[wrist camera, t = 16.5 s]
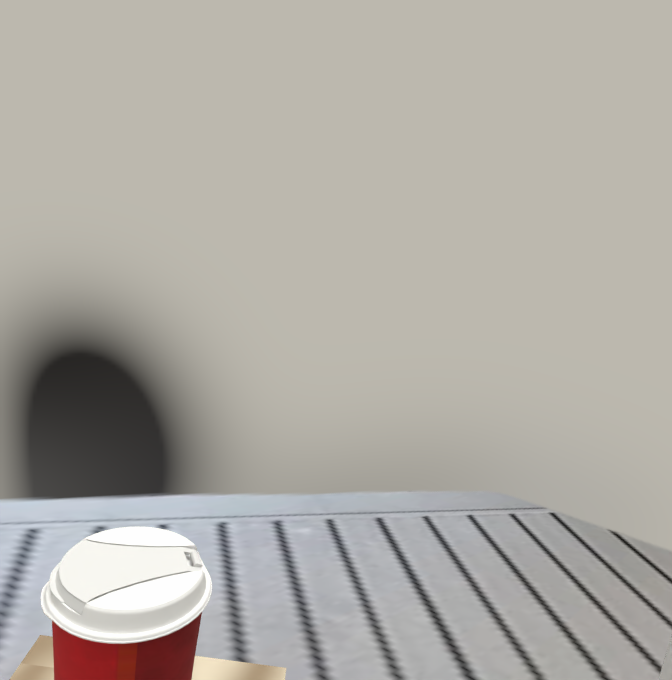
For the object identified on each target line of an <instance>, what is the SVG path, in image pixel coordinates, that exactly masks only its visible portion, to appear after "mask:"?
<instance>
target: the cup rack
mask: <svg viewBox="0 0 672 680" xmlns="http://www.w3.org/2000/svg"><path fill="white" fill-rule="evenodd" d="M285 673H286V668H282V667H275V666H267V665H260V664H252V663H245V662H237V661H230V660H222V659H215V658H207V657H200V656H195V658H194V665H193V672H192V679H191V680H285ZM10 680H54V659H53V637H50V636H43V635H40V636H39V638H38V639H37V641H36V642H35V644H34V645H33V646H32V648H31V649H30V651H29V652H28V654H27V655H26V657H25V658H24V659H23V661H22V662H21V664H20V665H19V667H18V668H17V670H16V671H15V672H14V674H13V675H12V677H11V678H10Z"/></svg>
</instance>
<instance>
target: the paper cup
mask: <svg viewBox="0 0 672 680" xmlns="http://www.w3.org/2000/svg"><path fill="white" fill-rule="evenodd" d="M211 592H212V582H211V577H210V575H209V573H208V571H207V569H206V567H205V566H204V564H203V562H202V560H201V558H200V555H199V552H197V548H196V546H195V545H194V544H193V543H192V542H191V541H190V540H188V539H186V538H185V537H183V536H181V535H179V534H177V533H174V532H171V531H168V530H163V529H159V528H152V527H123V528H116V529H111V530H106V531H103V532H99V533H96V534H94V535H91V536H89V537H87V538H85V539H83V540H82V541H80V542H79V543H78V544H76V545H75V546H74V547H73V548H71V549H70V550H69V551H68V552H67V553H66V554H65V555H64V557H63V558H62V560H61V562H60V563H59V564H58V565H57V566H56V567H55V568H54V570H53V571H52V573H51V575H50V580H49V581H48V582H47V584H46V585H45V586H44V587H43V588H42V593H41V606H42V609H43V612H44V614H45V615H46V616H47V617H49V618H50V619H51V620H52V630H53V659H54V680H191V679H192V672H193V665H194V658H195V651H196V645H197V639H198V632H199V626H200V620H201V614H202V611H203V610H204V609H205V607H206V605H207V604H208V602H209V599H210V596H211Z"/></svg>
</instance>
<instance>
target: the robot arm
mask: <svg viewBox="0 0 672 680" xmlns="http://www.w3.org/2000/svg"><path fill="white" fill-rule="evenodd" d="M659 680H672V636H671V639H670V643H669V646H668V649H667V653H666V656H665V659H664V663H663V666H662V670H661V673H660V676H659Z"/></svg>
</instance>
